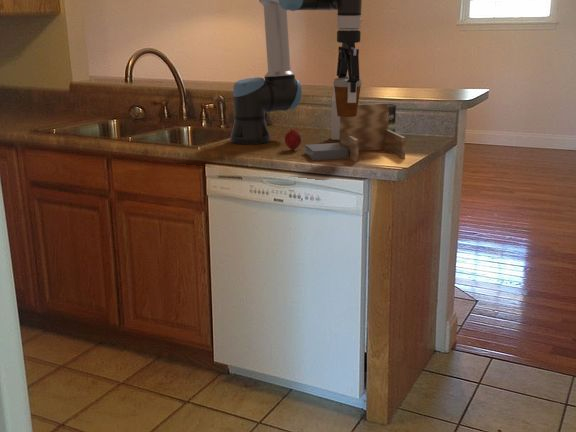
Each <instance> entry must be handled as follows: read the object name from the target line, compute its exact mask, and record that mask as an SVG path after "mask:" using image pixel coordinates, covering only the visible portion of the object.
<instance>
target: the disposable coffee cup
mask: <svg viewBox="0 0 576 432" xmlns="http://www.w3.org/2000/svg"><path fill="white" fill-rule="evenodd" d="M333 79H334V80H333V82H332V84H333V86H334V88H333V89H335V97H336V107H337V116H339V117H355V116H356V114H357V108H358V104H359V101H360V100H359V99H360V94H361V87H362V85H363V82H362V79H361V78H360V80H359V81H357V91H356V103H347V101H348V82H347V81H348V80H349V77H348V78H338V77H336V78H333Z"/></svg>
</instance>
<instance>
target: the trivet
mask: <svg viewBox="0 0 576 432" xmlns="http://www.w3.org/2000/svg"><path fill="white" fill-rule="evenodd" d="M304 146H305V147H304V148H305V150H304V151H305V154H306V156H308V157H309V158H310V159H311V160H313V161H321V159H325V160H337V159H338V158H343V159H350V158H349V149H348V148H346V147H344V146H343V145H341V144H340V142H333V143H315V144H314V143H313V144H305V145H304Z"/></svg>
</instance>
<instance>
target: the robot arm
mask: <svg viewBox="0 0 576 432" xmlns="http://www.w3.org/2000/svg"><path fill="white" fill-rule="evenodd" d="M362 1H363V0H259V4H261V5H262V7H263V15H264V16H263V17H264V19H263V20H264V30H265V31H264V34H265V47H266V60H267V72H266V73H265V74H264V76H263V77H258V76H257V77H248V78H244V79H240V80H237V81H235V82H234V83H233V89H232V92H233V93H232V96H233V115H234V119H233V120H234V122H233V125H232V130H231V133H230V143H232V144H235V143H236V144H237V145H259V144H260V145H261V144H265V143H269V142H270V141H271V133H270V132H269V128H268V125H267V123H266V113H270V112H280V111H288V110H289V111H291V110H294V109H295V108H297V107H298V105H299V104H300V102H301V99H302V96H303V95H302V94H303V90H302V89H303V88H302V85H301V82H300V81H299V79H296V75H295V73H294V72H293V71H292V70H291V59H290V43H289V42H290V40H289V26H288V23H289V22H288V11H292V12H293V11H294V12H295V11H337V13H336V14H337V15H336V29H338V30H337V31H336V42H337V43H340V44H341V43H342V44H341V45H340V46H338V55H337V66H336V77H337V78H349V80H348V81H347V82H348V101H347V103H356V91H357V81H359V80H360V79H361V78H360V59H359V53H360V50H359V48H356V44H357V43H360V42H361V35H362V33H361V31H360V30H359V29H361V27H362V26H361V24H362V23H361V22H362V21H363V18H362Z"/></svg>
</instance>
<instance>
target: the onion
mask: <svg viewBox="0 0 576 432" xmlns="http://www.w3.org/2000/svg"><path fill="white" fill-rule="evenodd" d="M301 137H302V136H301V135H300V133H299V132H298V131H297V130H296V129H295V128H294V127H291V128H290V130H289V131H287V132H286V134H285V136H284V144H285V145H286V147H288V148H289V149H290V150H291V151H295V150H296V149H297V148H299V146H300V145H301V143H302V138H301Z"/></svg>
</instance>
